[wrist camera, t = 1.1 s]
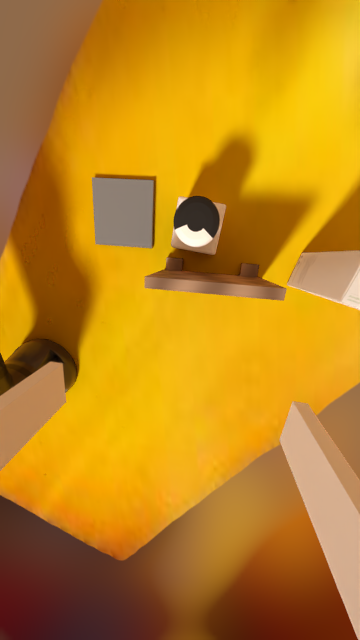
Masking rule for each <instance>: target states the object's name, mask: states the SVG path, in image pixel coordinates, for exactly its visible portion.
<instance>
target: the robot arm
mask: <svg viewBox="0 0 360 640" xmlns="http://www.w3.org/2000/svg"><path fill="white" fill-rule="evenodd" d="M76 377H77V370H76V366H75V363H74V361H73V359H72V357H71V356H70V354H69V353H68V352H67V351H66V350H65V349H64V348H63V347H61V346H60V345H58V344H57V343H55V342H52V341H49V340H45V339H35V340H31V341H29V342H27V343H25V344H23V345H21V346H20V347H18V348H17V349H16V350H15V351H14V353H13V354H12V355H11V356H10V357H9V358H8V359H7V360H6V361H5V362H4V360H3V358H2V356H1V353H0V470H1V469H2V468H3V467H4V466H5V465H6V464H7V463H8V462H9V461H10V460H11V459H12V458H13V457H14V456H15V455H16V454H17V453H18V452H19V451H20V449H21V448H22V447H23V446H24V445H25V444H26V443H27V442H28V441H29V440H30V439H31V438H32V437H33V436H34V435H35V434H36V433H37V432H38V431H39V430H40V429H41V427H42V426H43V425H44V424H45V423H46V422H47V421H48V420H49V419H50V418H51V417H52V416H53V415H54V414H55V413H56V412H57V411H58V410H59V409H60V408H61V406H62V405H63V404H64V403H65V402H66V396H65V393H66V392H67V391H68V390H69V389H70V388H71V387H72V386H73V385H74V383H75V381H76ZM280 443H281V445H282V448H283V450H284V453H285V455H286V458H287V460H288V463H289V465H290V468H291V470H292V473H293V475H294V478H295V481H296V483H297V486H298V488H299V491H300V493H301V496H302V498H303V500H304V504H305V506H306V509H307V511H308V514H309V516H310V519H311V521H312V524H313V526H314V529H315V531H316V534H317V536H318V539H319V541H320V544H321V547H322V549H323V552H324V554H325V557H326V559H327V562H328V564H329V567H330V569H331V572H332V575H333V577H334V580H335V582H336V584H337V587H338V590H339V592H340V595H341V597H342V600H343V602H344V605H345V607H346V610H347V613H348V615H349V617H350V620H351V623H352V625H353V628H354V630H355V633H356V635H357V638H358V640H360V480H359V479H358V477H357V476H356V474H355V473H354V471H353V470H352V468H351V467H350V465H349V464H348V462H347V461H346V459H345V458H344V456H343V455H342V454H341V452H340V451H339V449H338V448H337V446H336V445H335V443H334V442H333V440H332V439H331V437H330V436H329V434H328V433H327V432H326V430H325V429H324V427H323V426H322V424H321V423H320V421H319V420H318V418H317V417H316V415H315V414H314V412H313V411H312V409H311V408H310V406H309V405H308V404H306V403H300V402H294V401H293V402H292V405H291V408H290V411H289V414H288V417H287V420H286V423H285V426H284V429H283V432H282V435H281V437H280Z"/></svg>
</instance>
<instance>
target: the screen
mask: <svg viewBox="0 0 360 640" xmlns="http://www.w3.org/2000/svg"><path fill="white" fill-rule="evenodd" d="M182 266H183V259H179V258H167V262H166V269H164V270H161V271H159V272H156V273H153V274H151V275H148V276H145V288H151V289H162V290H173V291H184V292H195V293H206V294H217V295H228V296H239V297H250V298H261V299H272V300H284V297H285V293H286V288H284V287H281V286H279V285H276V284H274V283H271V282H269V281H267V280H264V279H262V278H259V277H257V274H258V269H259V265H257V264H244V263H241V269H240V275H227V274H215V273H203V272H191V271H182Z"/></svg>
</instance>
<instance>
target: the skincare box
mask: <svg viewBox="0 0 360 640" xmlns="http://www.w3.org/2000/svg"><path fill="white" fill-rule="evenodd" d="M287 285H288V286H291V287H294V288H297V289H300V290H303V291H305V292H308V293H311V294H314V295H317V296H320V297H323V298H326V299H329V300H332V301H334V302H337V303H341V304H344V305H347V306H350V307H353V308H356V309H359V310H360V250H354V251H331V252H303V253H302V254H301V256H300V258H299V260H298V262H297V264H296V266H295V268H294V270H293V272H292V275H291V277H290V279H289V281H288V283H287Z"/></svg>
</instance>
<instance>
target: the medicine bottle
mask: <svg viewBox="0 0 360 640" xmlns="http://www.w3.org/2000/svg"><path fill="white" fill-rule="evenodd" d="M225 210H226V205H225V204H220V203H215V202H212V201H211V200H209V199H208V198H206V197H202V196H193V197H190V198H187V197H179V198H178V204H177V210H176V212H175V216H174V229H173V236H172V242H171V246H172V247H174V248H178V249H184V250H189V251H194V252H199V253H204V254H210V255H214V254H215V253H216V250H217V245H218V241H219V236H220V232H221V228H222V223H223V219H224V214H225Z"/></svg>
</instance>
